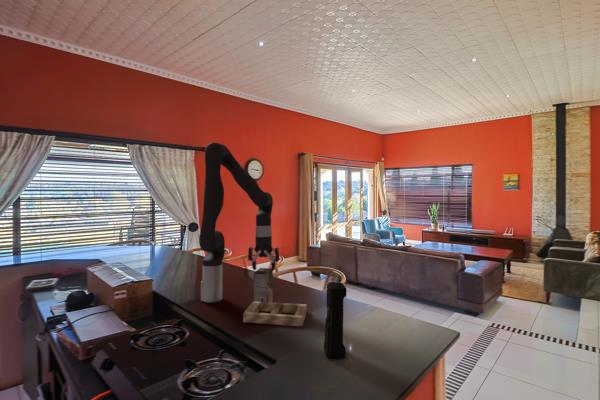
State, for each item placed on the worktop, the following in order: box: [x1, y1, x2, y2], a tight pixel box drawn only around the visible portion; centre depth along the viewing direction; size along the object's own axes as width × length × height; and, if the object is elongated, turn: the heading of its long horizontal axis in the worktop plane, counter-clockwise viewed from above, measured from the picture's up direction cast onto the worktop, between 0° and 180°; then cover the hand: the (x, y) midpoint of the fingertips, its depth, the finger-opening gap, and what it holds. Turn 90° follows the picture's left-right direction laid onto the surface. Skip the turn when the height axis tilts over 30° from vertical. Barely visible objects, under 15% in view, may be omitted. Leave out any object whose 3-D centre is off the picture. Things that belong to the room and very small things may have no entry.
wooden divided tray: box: [242, 300, 308, 327], centre depth 128 cm, size 24×14×4 cm, turn 82°
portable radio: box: [323, 279, 347, 360], centre depth 99 cm, size 8×6×25 cm
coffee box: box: [253, 267, 274, 302], centre depth 142 cm, size 9×6×16 cm
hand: (263, 269), depth 141 cm, fingers open, 8 cm apart
